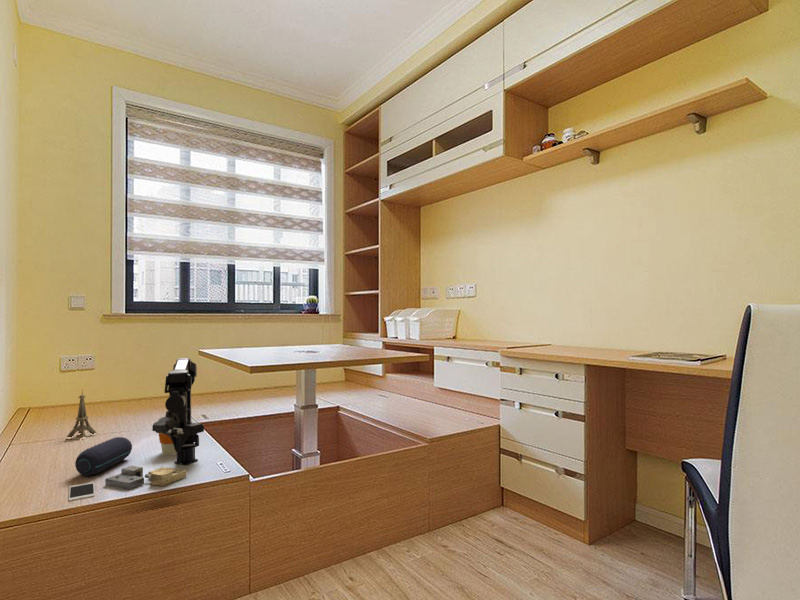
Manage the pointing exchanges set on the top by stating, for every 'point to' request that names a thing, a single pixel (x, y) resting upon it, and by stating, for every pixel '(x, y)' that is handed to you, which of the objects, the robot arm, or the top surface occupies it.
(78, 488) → the smartphone
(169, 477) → the tan flat block
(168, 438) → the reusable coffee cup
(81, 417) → the eiffel tower
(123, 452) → the portable speaker
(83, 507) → the top surface
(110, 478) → the grey stepped block
